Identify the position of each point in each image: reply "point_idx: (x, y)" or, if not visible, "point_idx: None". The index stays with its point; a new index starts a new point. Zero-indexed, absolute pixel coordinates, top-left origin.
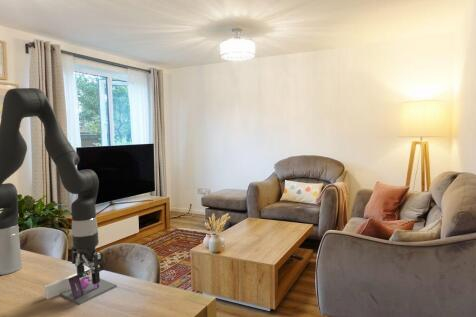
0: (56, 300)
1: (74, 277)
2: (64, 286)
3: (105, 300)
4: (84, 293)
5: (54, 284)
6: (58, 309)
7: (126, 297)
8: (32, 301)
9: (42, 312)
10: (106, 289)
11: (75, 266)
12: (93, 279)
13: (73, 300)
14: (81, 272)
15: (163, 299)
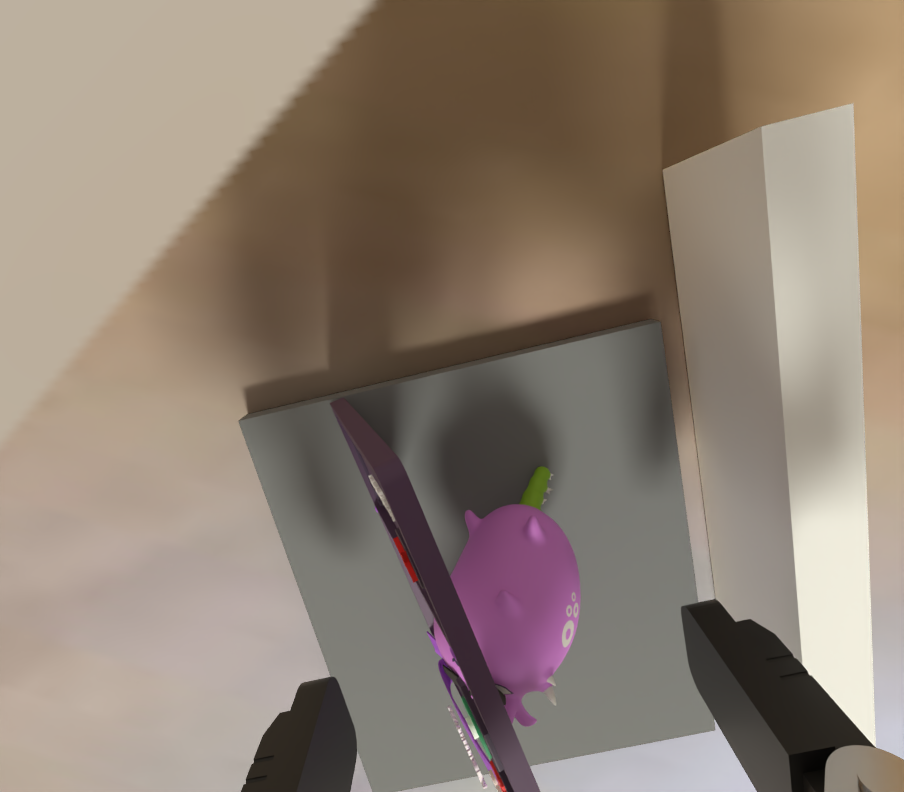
0: (547, 245)
1: (416, 574)
2: (723, 397)
3: (164, 620)
4: None
5: (768, 266)
6: (295, 203)
7: (98, 761)
8: None
9: (353, 24)
10: (347, 703)
11: (878, 751)
12: (278, 747)
13: (365, 389)
14: (725, 701)
15: None
